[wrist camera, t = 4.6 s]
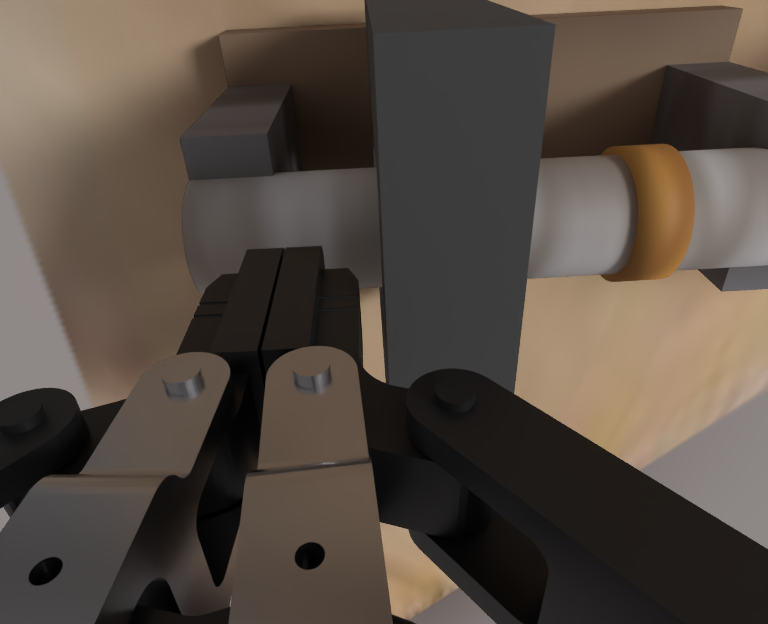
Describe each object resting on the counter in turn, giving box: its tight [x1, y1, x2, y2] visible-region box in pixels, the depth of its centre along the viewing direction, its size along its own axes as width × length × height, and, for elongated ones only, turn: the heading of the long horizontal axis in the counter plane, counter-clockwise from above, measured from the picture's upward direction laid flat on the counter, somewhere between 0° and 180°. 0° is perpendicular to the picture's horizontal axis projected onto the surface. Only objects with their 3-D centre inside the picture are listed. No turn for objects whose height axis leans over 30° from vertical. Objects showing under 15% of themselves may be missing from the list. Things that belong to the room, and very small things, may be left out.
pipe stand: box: [180, 6, 768, 295], centre depth 16 cm, size 8×16×9 cm, turn 92°
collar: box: [365, 0, 556, 394], centre depth 14 cm, size 10×2×10 cm, turn 2°
